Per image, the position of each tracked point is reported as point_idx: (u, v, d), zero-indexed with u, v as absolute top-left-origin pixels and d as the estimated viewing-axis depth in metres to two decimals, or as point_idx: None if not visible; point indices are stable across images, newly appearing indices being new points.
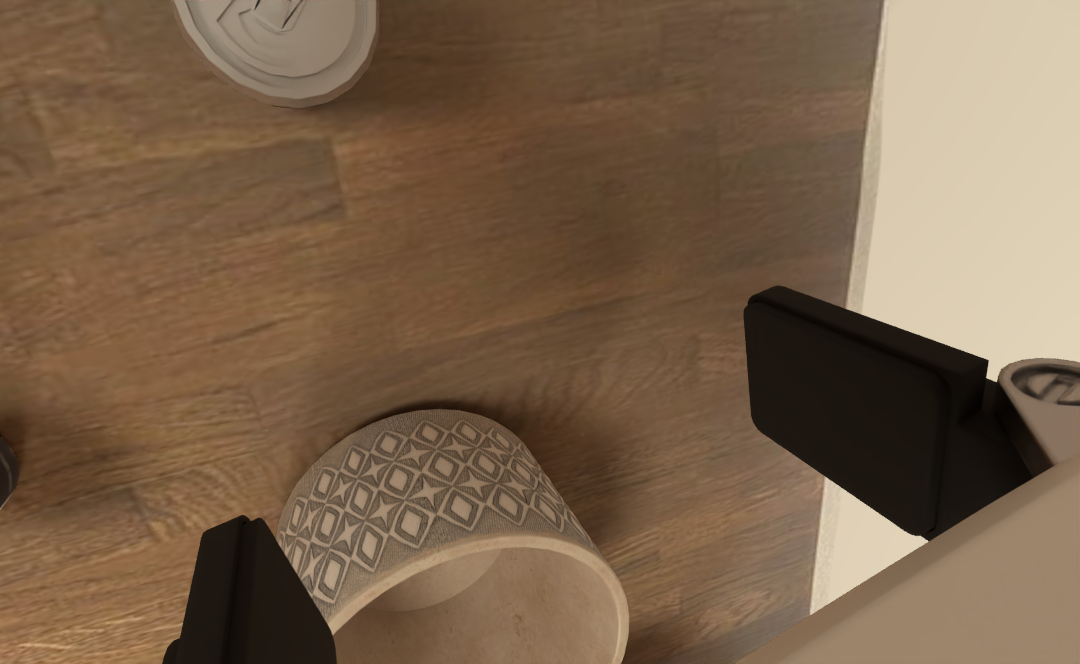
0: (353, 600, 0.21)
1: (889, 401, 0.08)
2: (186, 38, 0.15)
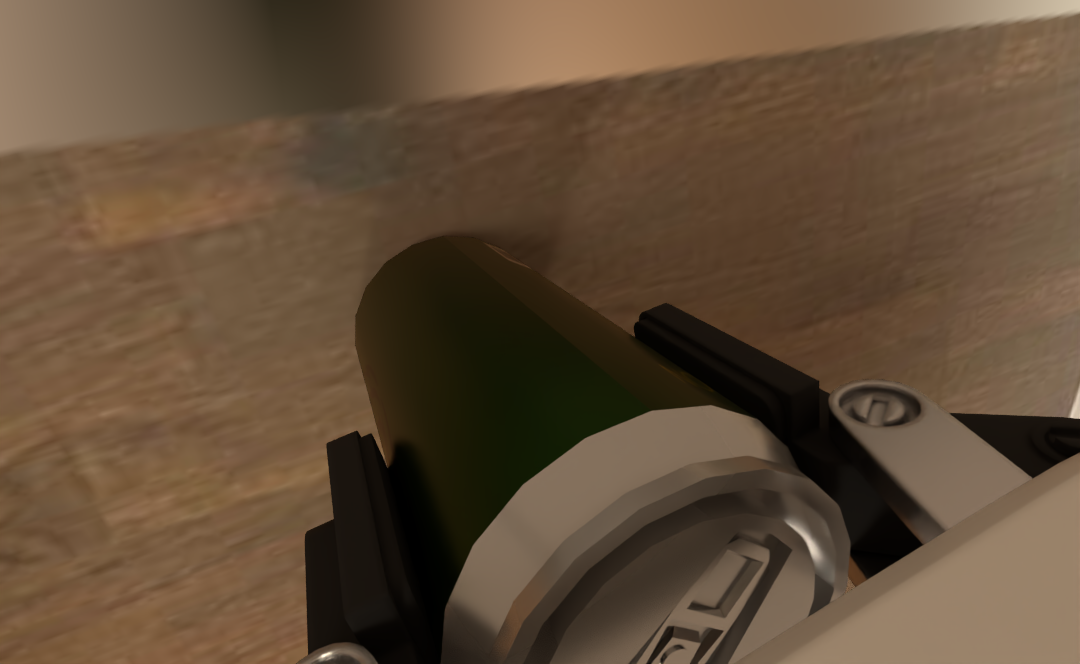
0: None
1: None
2: None
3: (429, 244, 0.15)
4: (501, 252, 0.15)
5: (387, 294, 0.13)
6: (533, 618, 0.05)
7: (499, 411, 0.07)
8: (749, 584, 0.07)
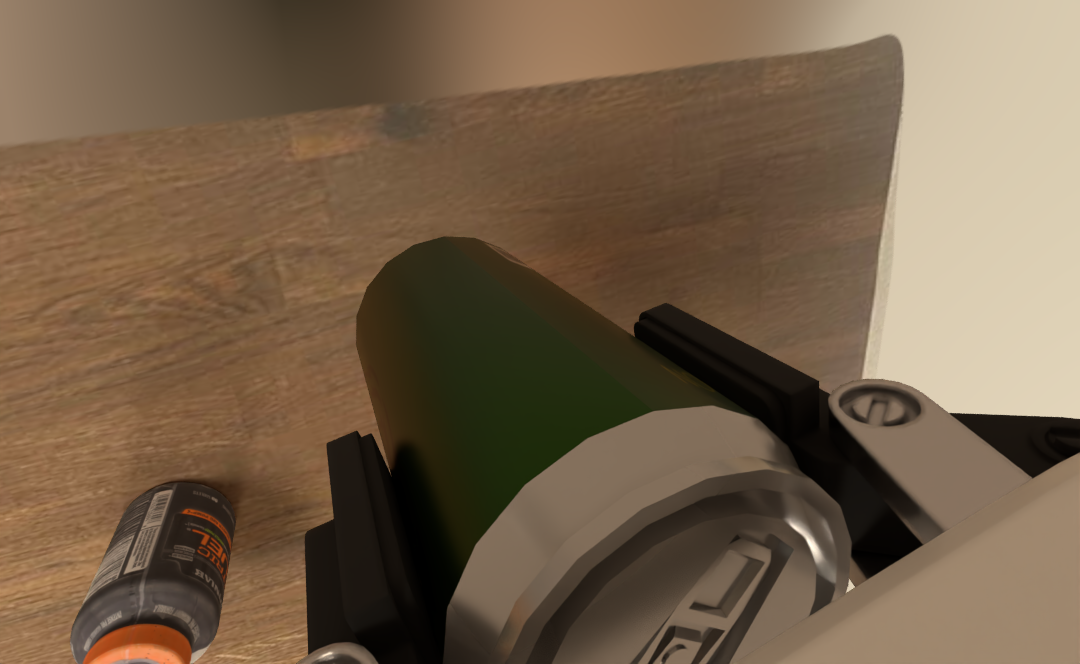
0: None
1: None
2: None
3: (430, 244, 0.15)
4: (502, 252, 0.15)
5: (388, 294, 0.13)
6: (536, 618, 0.05)
7: (502, 411, 0.07)
8: (750, 584, 0.07)
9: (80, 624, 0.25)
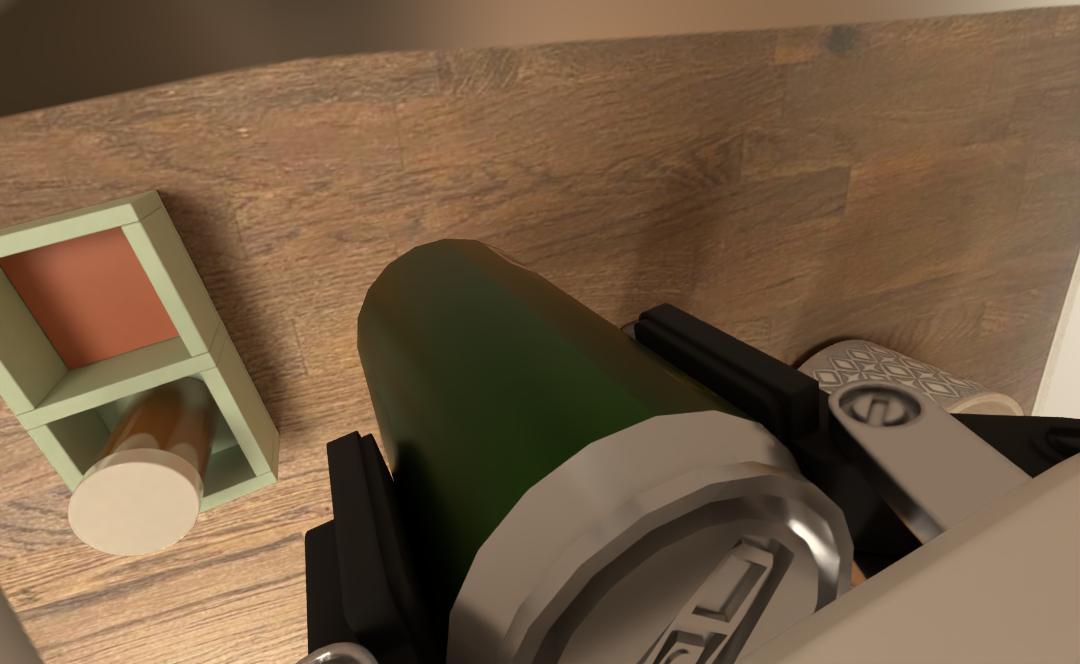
0: None
1: None
2: None
3: (431, 247, 0.15)
4: (503, 255, 0.15)
5: (389, 297, 0.13)
6: (538, 624, 0.05)
7: (503, 416, 0.07)
8: (751, 588, 0.07)
9: None
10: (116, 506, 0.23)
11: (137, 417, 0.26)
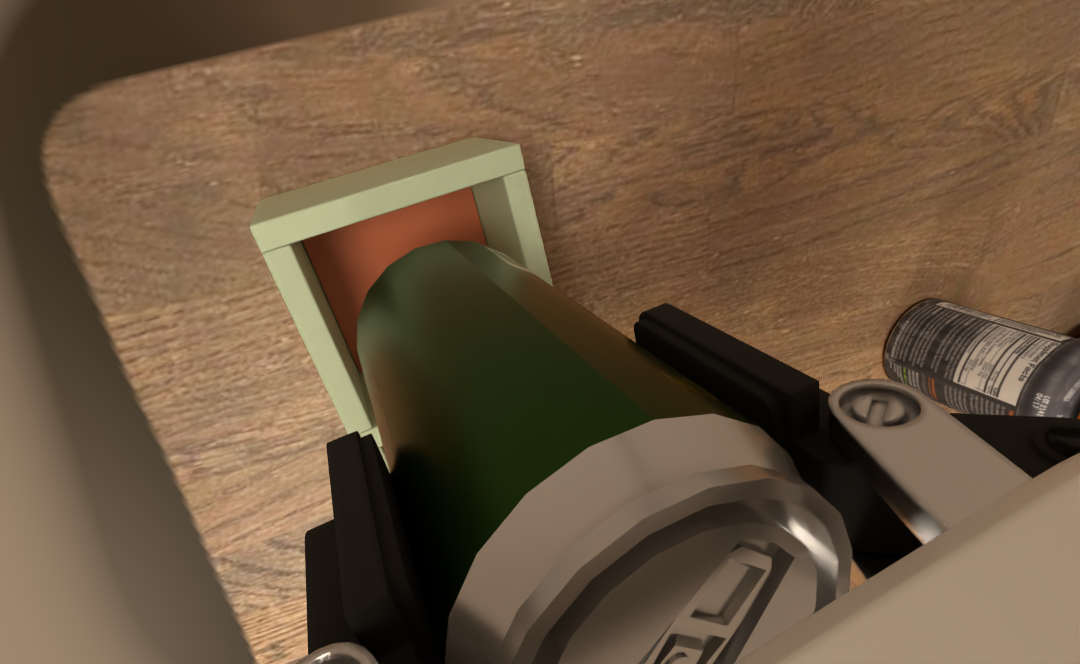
0: None
1: None
2: None
3: (430, 248, 0.15)
4: (502, 256, 0.15)
5: (389, 299, 0.13)
6: (537, 628, 0.05)
7: (502, 419, 0.07)
8: (750, 591, 0.07)
9: (1063, 376, 0.28)
10: None
11: None
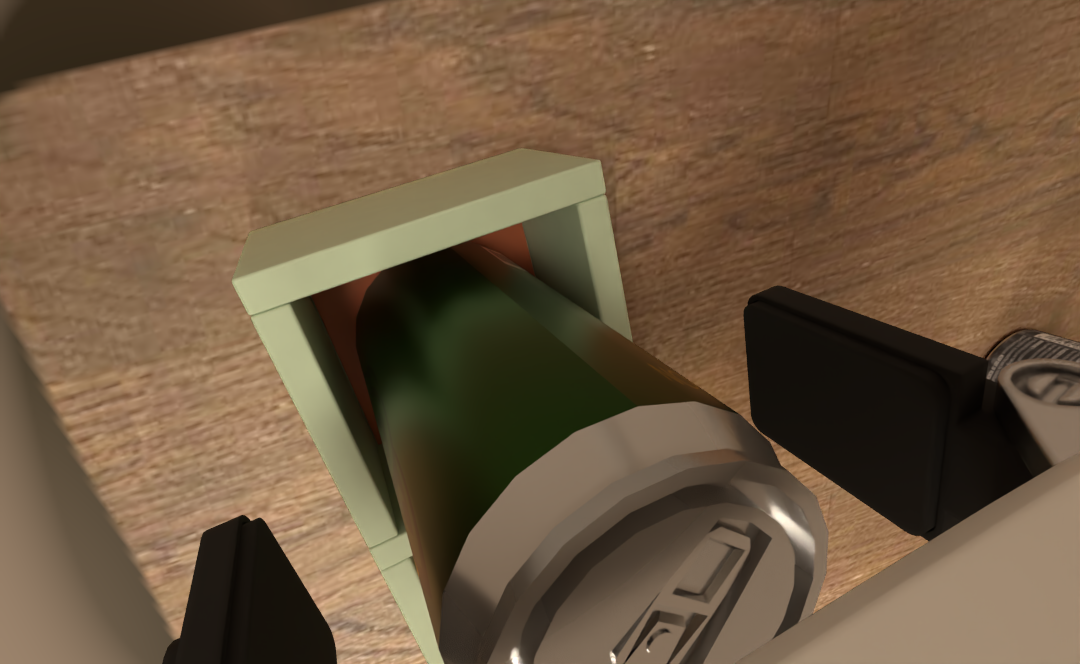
0: None
1: (889, 401, 0.08)
2: None
3: None
4: (498, 255, 0.15)
5: (387, 297, 0.14)
6: (525, 600, 0.06)
7: (494, 408, 0.08)
8: (731, 571, 0.07)
9: None
10: None
11: None
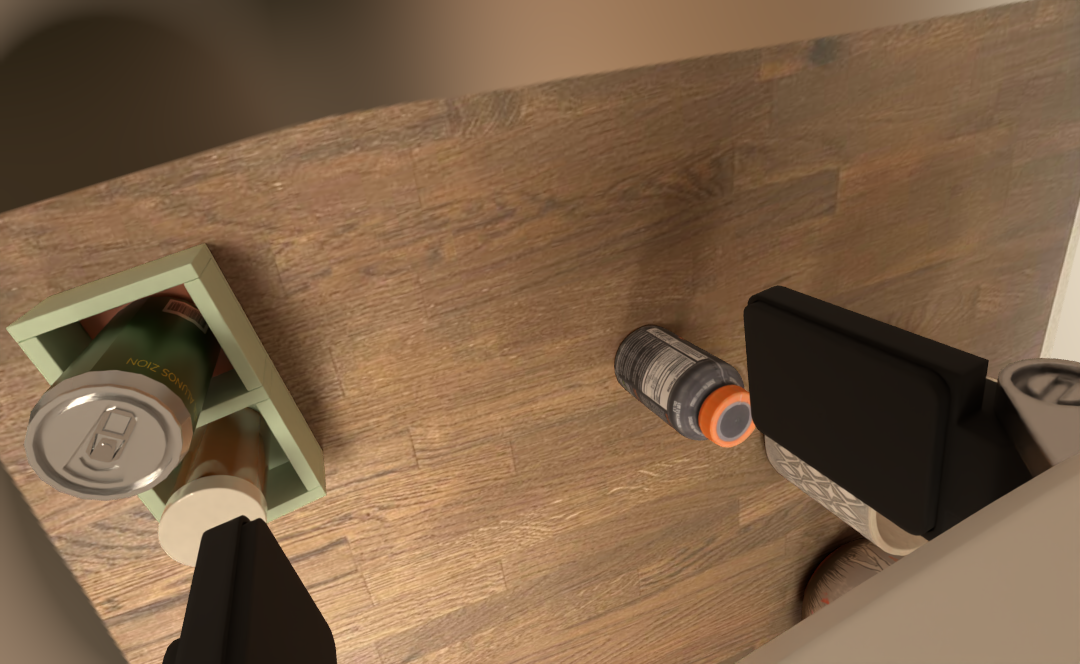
0: None
1: (889, 401, 0.08)
2: None
3: (137, 302, 0.30)
4: (173, 305, 0.30)
5: None
6: (30, 425, 0.20)
7: (62, 375, 0.22)
8: (133, 426, 0.22)
9: (688, 388, 0.37)
10: (197, 526, 0.27)
11: (205, 446, 0.30)
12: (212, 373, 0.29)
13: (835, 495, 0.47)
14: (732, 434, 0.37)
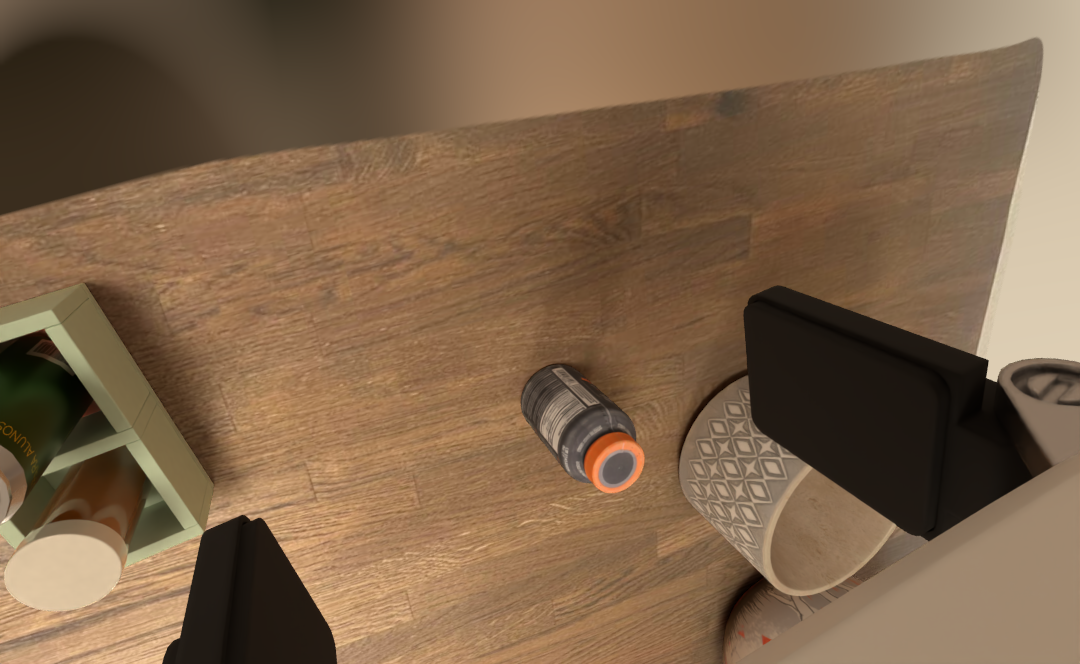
0: None
1: (889, 401, 0.08)
2: None
3: (6, 342, 0.30)
4: (42, 346, 0.30)
5: None
6: None
7: None
8: None
9: (575, 433, 0.38)
10: (46, 571, 0.27)
11: (71, 487, 0.30)
12: (77, 415, 0.30)
13: (736, 536, 0.48)
14: (615, 481, 0.37)
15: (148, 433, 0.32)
